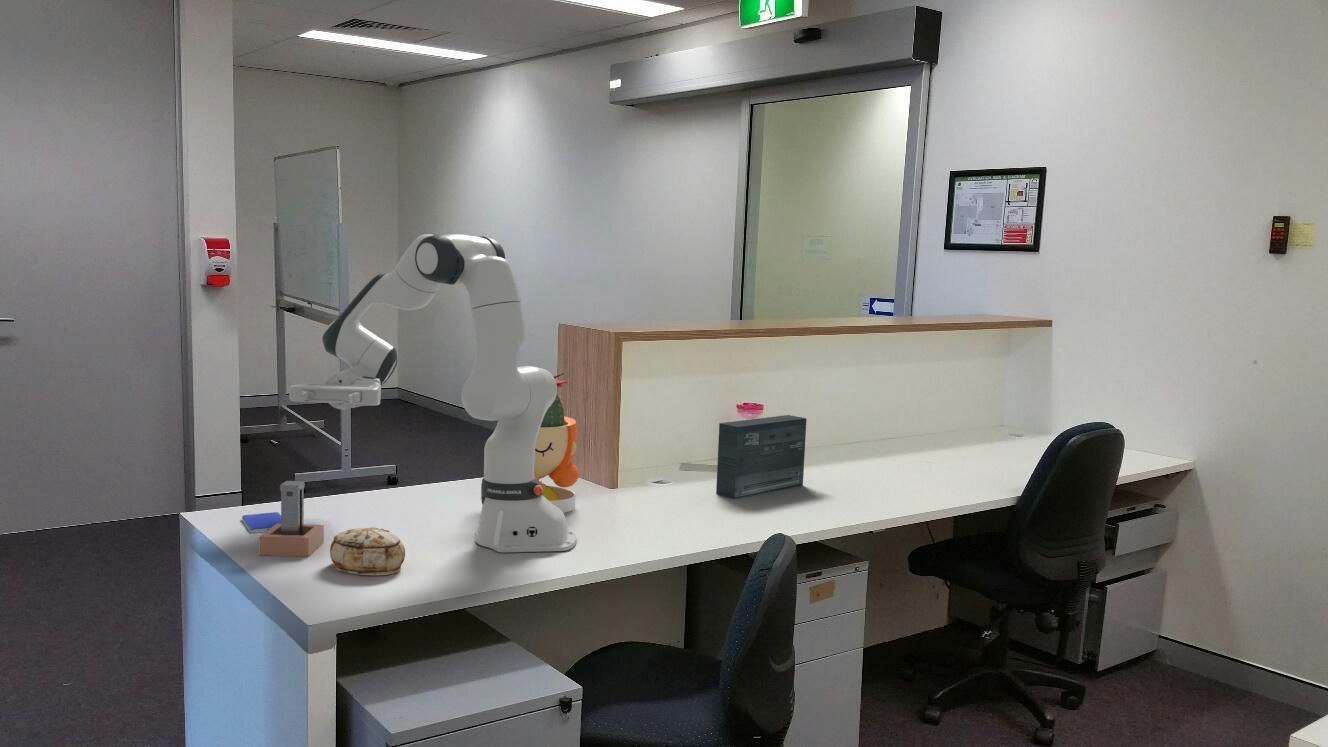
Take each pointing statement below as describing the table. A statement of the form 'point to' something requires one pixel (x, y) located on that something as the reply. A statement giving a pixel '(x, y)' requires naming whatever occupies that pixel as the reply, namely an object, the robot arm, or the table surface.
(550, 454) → the potted cactus
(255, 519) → the hard drive
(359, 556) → the trinket box
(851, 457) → the table surface
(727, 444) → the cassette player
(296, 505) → the grey chimney stack
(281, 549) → the holder
